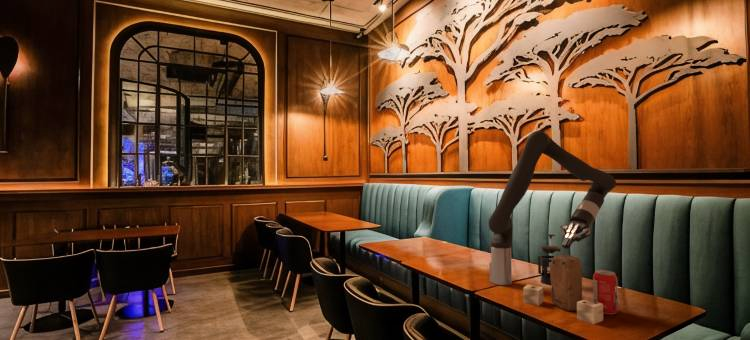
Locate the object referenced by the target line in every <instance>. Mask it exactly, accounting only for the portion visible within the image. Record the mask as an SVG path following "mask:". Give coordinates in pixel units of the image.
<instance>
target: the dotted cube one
mask: <svg viewBox="0 0 750 340" xmlns="http://www.w3.org/2000/svg"><path fill="white" fill-rule="evenodd" d="M522 299H523V300H522V303H524V304H528V305H532V306H533V305H534V306H541V304H542V303H543V302H544V287H543V286H537V285H533V284H526V285H525V286H524V287H523V288H522Z"/></svg>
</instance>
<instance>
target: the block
mask: <svg viewBox="0 0 750 340" xmlns="http://www.w3.org/2000/svg"><path fill="white" fill-rule="evenodd" d="M554 256H555V257H554V258H553V259H552V258H551V260H552V261H551V262H550V265H549V267H550V272H549V273H550V278H551V285H550V286H551V289H550V290H551V291H550V294H551V302H552V304H554V305H555V306H556V307H558V308H560V309H561V310H565V311H568V312H570V311H572V312H575V311H576V312H577V302H578V301H581V300H583V274H582V263H581V259H580V258H579V257H576V256H573V255H571V254H565V253H564V254H558V255H554Z"/></svg>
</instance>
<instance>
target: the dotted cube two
mask: <svg viewBox="0 0 750 340" xmlns="http://www.w3.org/2000/svg"><path fill="white" fill-rule="evenodd" d="M576 319H577V320H580V321H582V322H583V321H584V322H586V323H589V324H592V325H595V324H598V323H600V322H602V321H604V314H603V304H602V303H598V302H595V301H593V300H590V299H587V298H584V299H582V300H581V301H578V302H577V310H576Z"/></svg>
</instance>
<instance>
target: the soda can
mask: <svg viewBox="0 0 750 340" xmlns="http://www.w3.org/2000/svg"><path fill="white" fill-rule="evenodd" d="M618 282H619V281H618V277H617V275H616V272H614V271H612V270H605V269H597V270H594V273H593V275H592V296H593V297H592V299H593V300H592V301H595V302H598V303H602V304H603V315H608V316H609V315H610V316H611V315H615V314H618V312H619V293H618V291H619V289H618V288H619V287H618V285H619V284H618Z"/></svg>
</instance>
